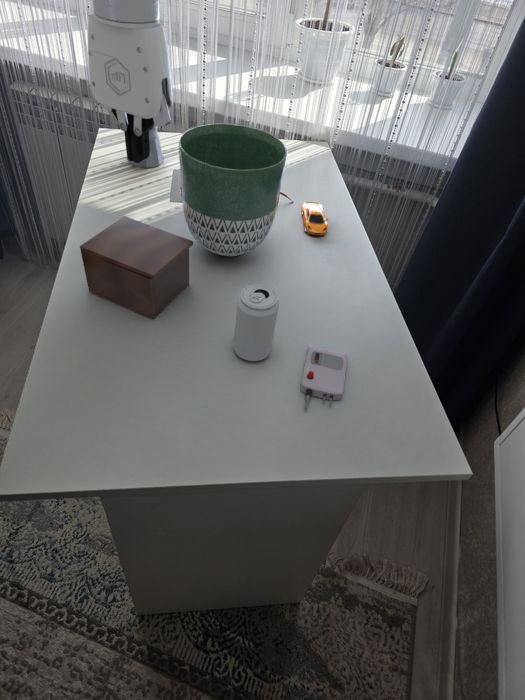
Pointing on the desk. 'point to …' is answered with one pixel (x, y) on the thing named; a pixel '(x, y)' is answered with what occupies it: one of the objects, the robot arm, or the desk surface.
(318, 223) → the toy car
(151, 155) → the coffeepot
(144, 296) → the chest
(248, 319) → the beverage can
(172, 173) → the desk surface
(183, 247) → the lid
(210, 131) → the planter
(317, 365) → the white electronic control box
